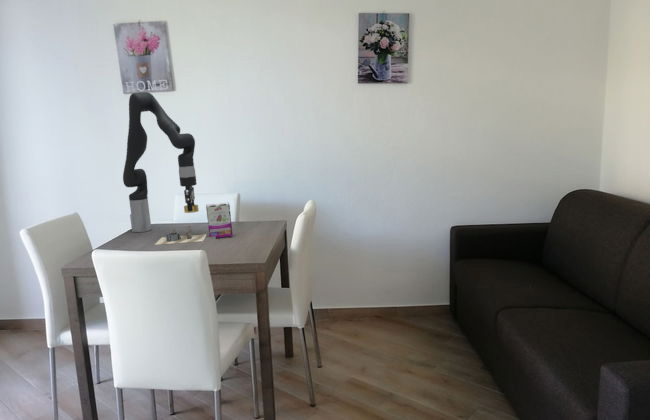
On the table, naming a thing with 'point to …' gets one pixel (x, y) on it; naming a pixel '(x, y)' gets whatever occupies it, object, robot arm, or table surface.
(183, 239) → the gear board
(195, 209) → the brass gear
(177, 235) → the silver gear
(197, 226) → the table surface
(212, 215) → the candy bar box
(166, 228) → the table surface
